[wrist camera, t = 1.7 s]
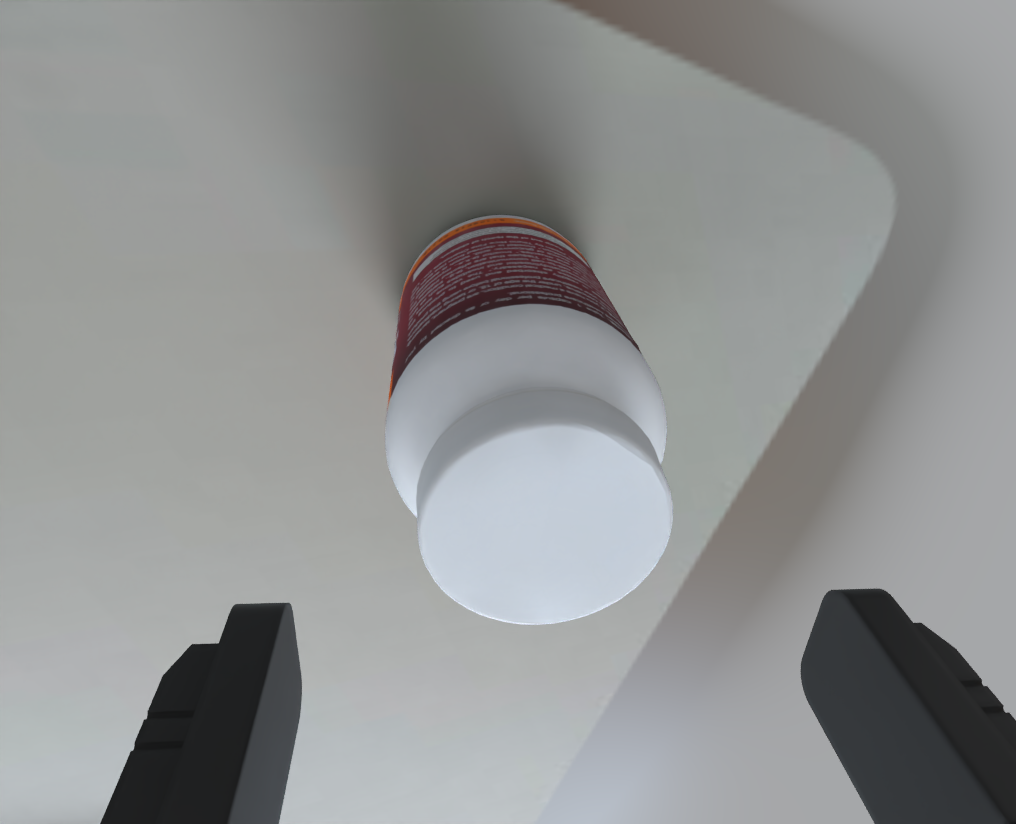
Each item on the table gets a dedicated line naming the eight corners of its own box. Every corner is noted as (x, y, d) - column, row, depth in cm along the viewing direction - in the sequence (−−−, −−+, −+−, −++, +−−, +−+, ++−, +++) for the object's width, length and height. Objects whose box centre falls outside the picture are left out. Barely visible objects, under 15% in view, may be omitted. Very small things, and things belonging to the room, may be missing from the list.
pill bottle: (358, 284, 21) (293, 501, 12) (529, 167, 20) (613, 302, 10) (473, 427, 24) (496, 696, 15) (629, 332, 23) (767, 558, 13)
